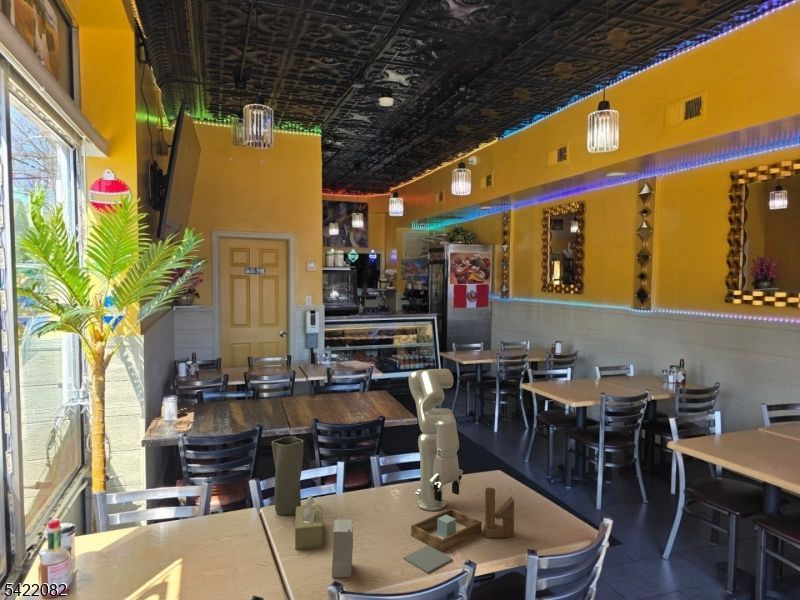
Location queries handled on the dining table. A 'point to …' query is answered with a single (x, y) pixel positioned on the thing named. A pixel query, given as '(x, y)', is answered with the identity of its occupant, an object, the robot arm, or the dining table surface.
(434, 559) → the mat
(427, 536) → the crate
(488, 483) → the dining table surface
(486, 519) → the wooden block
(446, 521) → the block
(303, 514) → the tissue box
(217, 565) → the dining table surface
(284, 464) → the vase
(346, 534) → the skincare box
